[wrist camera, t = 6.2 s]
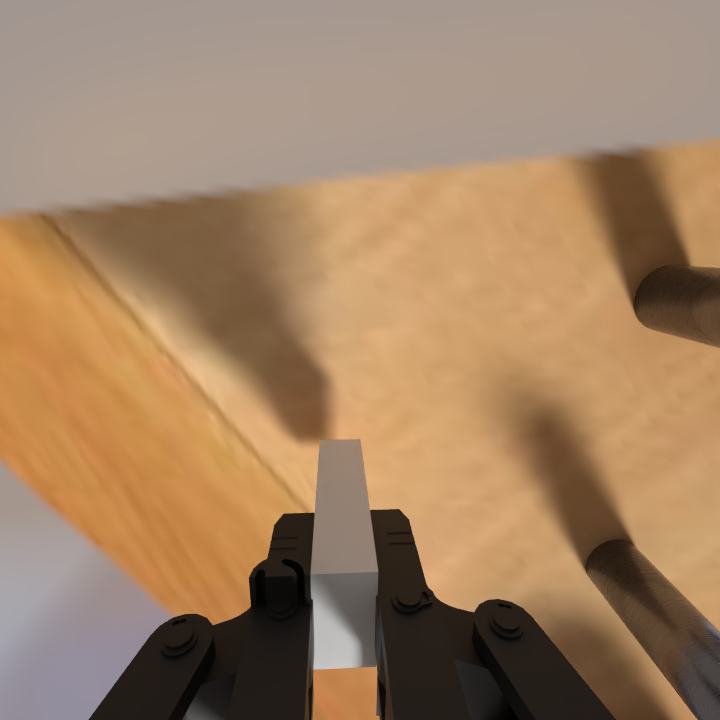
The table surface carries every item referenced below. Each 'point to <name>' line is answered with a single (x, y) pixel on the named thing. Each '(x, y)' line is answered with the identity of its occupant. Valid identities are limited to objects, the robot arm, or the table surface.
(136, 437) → the table surface
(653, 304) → the post
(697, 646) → the post
